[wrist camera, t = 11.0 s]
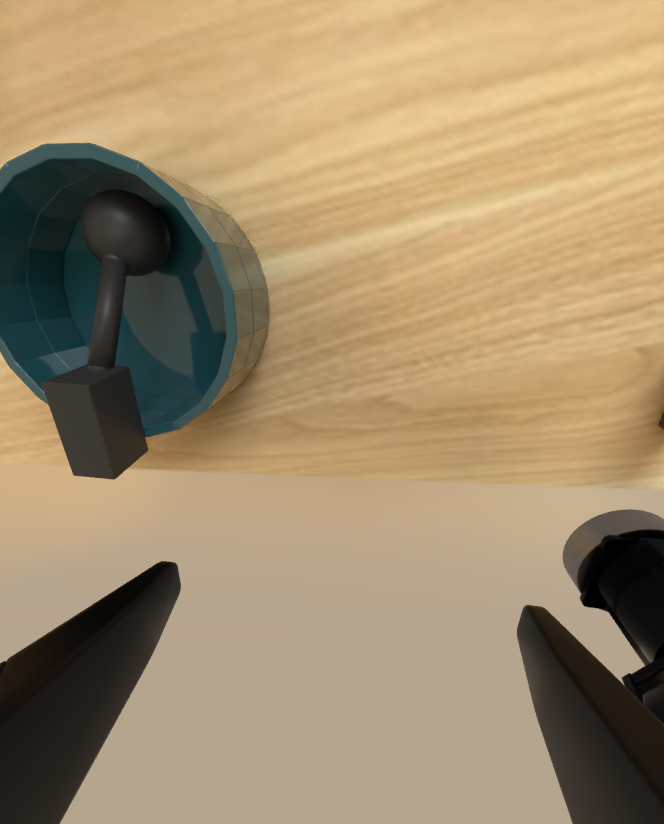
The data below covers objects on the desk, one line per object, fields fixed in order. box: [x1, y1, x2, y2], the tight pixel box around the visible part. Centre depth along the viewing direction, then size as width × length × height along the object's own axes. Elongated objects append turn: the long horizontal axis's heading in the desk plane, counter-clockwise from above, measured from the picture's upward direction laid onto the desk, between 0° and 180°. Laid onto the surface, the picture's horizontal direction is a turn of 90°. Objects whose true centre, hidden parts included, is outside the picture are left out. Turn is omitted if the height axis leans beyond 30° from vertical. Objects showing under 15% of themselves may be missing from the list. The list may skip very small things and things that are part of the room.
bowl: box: [0, 143, 269, 437], centre depth 17 cm, size 12×12×5 cm
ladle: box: [41, 189, 170, 479], centre depth 16 cm, size 12×4×8 cm, turn 178°
